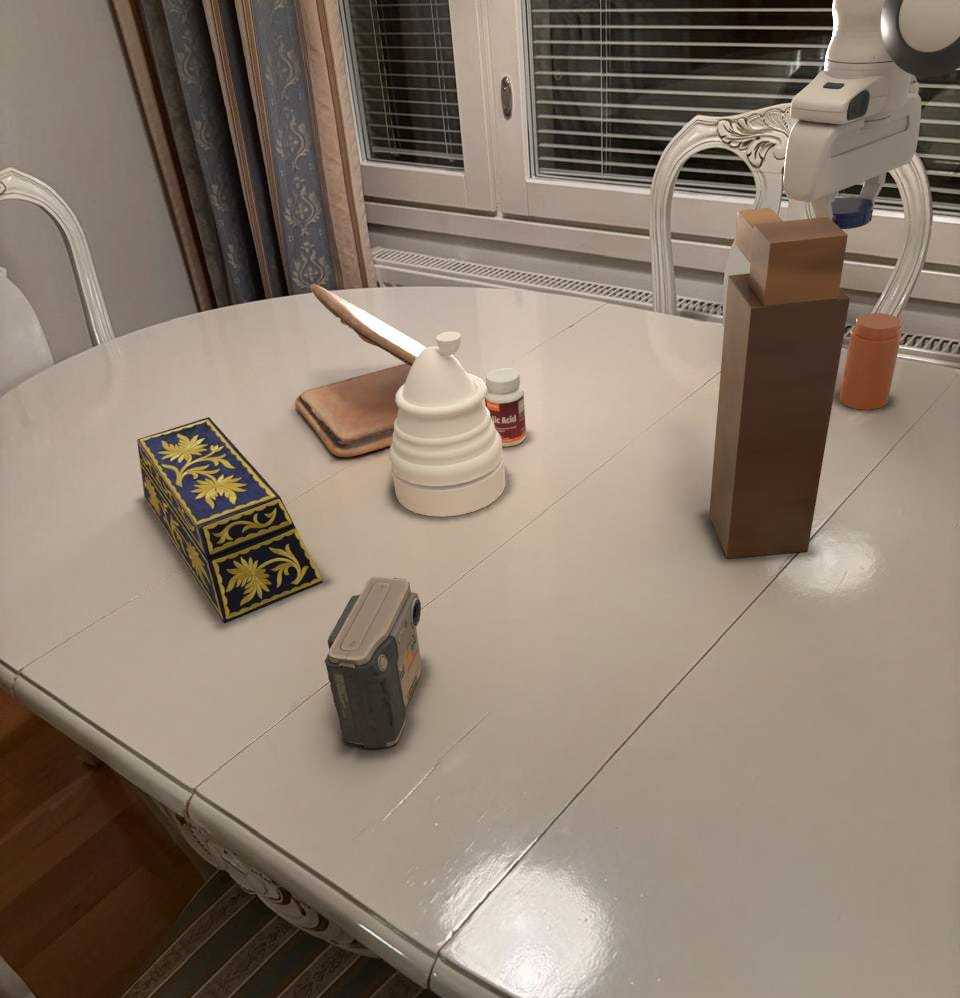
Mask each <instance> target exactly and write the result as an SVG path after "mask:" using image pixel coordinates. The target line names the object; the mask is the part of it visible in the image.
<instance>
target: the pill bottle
mask: <svg viewBox="0 0 960 998" xmlns="http://www.w3.org/2000/svg"><path fill="white" fill-rule="evenodd" d="M485 384H486V387H487V394H486V396H485V398H484V405H485V406H486V407H487V409H488V410H489V411H490V417H491V419H492V421H493V422H494V425H495V429H496V430H497V432H498V433H499V434H500V437H501V440H502V447H513V446H516V445H519V444H521V443H522V442H523V441H525V439H526V437H527V426H526V411H525V409H526V408H525V391H524V389H523V387H522V386H521V377H520V372H519V371H518V370H517V369H516V368H511V367H499V368H495V369H491V370H490V371H488V372H487V373H486V375H485Z"/></svg>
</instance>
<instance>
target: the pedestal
mask: <svg viewBox="0 0 960 998" xmlns="http://www.w3.org/2000/svg"><path fill="white" fill-rule="evenodd" d="M749 274H750V272H748V273H739V274H730V275H728V277H727V289H726V300H725V301H726V302H725V313H724V314H725V315H724V325H723V326H724V327H723V337H722V339H723V340H722V350H721V351H722V352H721V363H720V364H721V365H720V375H719V386H718V387H719V390H718V399H717V413H716V426H715V437H714V448H713V449H714V451H713V461H712V462H713V463H712V464H713V465H712V475H711V488H710V499H709V510H708V511H709V513H708V517H709V519H710V521H711V524H712V526H713V529H714V531H715V534H716V536H717V538H718V541H719V543H720V546H721V548H722V550H723V553H724V555H725V558H726V559H727V560H728V559H739V558H740V559H741V558H749V557H750V558H751V557H761V556H772V555H773V556H774V555H783V554H793V553H794V554H795V553H804V552H808V551H809V547H810V540H811V534H812V528H813V523H814V516H815V511H816V506H817V505H816V504H817V498H818V493H819V487H820V481H821V476H822V468H823V462H824V457H825V450H826V445H827V438H828V432H829V428H830V421H831V414H832V408H833V403H834V396H835V391H836V386H837V385H836V384H837V380H838V379H837V378H838V373H839V367H840V360H841V355H842V350H843V343H844V337H845V331H846V324H847V320H848V312H849V307H850V302H851V301H850V300H851V298H850V296H849V295H847V293H846V292H845V291H844V290H843V289H842V288H841V287H840V288H839V294H838V299H831V300H821V301H811V302H801V303H791V304H782V305H772V306H763V304H762V303H761V302H760V300H759V299H758V298H757V296H756V295H755V294H754V292H753V291H752V289H751V288H750V287H749Z"/></svg>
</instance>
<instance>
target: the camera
mask: <svg viewBox="0 0 960 998" xmlns="http://www.w3.org/2000/svg"><path fill="white" fill-rule="evenodd" d="M411 590H412V589H411V583H410V581H409V580H407V579H406V578H399V577H391V578H390V577H384V576H383V577H382V576H371V577H369V578H368V580H367V582H366V583H365V584H364V587H363V588H362V590H361V592H360V594H357V595H352V596H351V597H350V599H349V601H348V602H347V604H346V606H345V607H344V609H343V610H342V613H341V615H340V617H339V618H338V620H337V622H336V624H335V626H334V627H333V629H332V631H331V633H330V634H329V636H328V639H327V645H328V653H327V655H326V657H325V659H324V664H325V667H326V672H327V678H328V682H329V683H330V684H329V686H330V691H331V693H332V699H333V703H334V707H335V709H336V714H337V717H338V722H339V728H340V730H341V736H342V738H343V740H345V741H346V743H347V744H348V745H349V744H354V745H361V746H363V748H365V749H378V748H388V747H393V746H395V745H396V744H397V743H398V742H399V740H400V738H401V735H402V733H403V731H404V729H405V726H406V723H407V713H406V708H407V707H408V704H409V702H410V700H411V698H412V696H413V693H414V691H415V688H416V685H417V683H418V681H419V679H420V677H421V674H422V671H423V669H422V659H421V658H422V657H421V651H420V645H419V644H420V643H419V638H418V631H417V627H418V625H419V623H420V620H421V615H422V603H421V601H420V600H421V599H420V597H419V595H418V593H416V592H414V591H411Z"/></svg>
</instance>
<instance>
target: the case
mask: <svg viewBox="0 0 960 998" xmlns="http://www.w3.org/2000/svg"><path fill="white" fill-rule="evenodd" d="M309 289H310V291H311V292H312V294H313V296H314V297H315V298H316V300H318V302H319V303H320V304H322V305H323V307H325V309H326V310H328V311H329V312H330V314H332V315H333V316H334V317H336V318H338V319H339V320H340V321H339V322H340V324H342V325H344V326H347V327H348V328H349V329H351V330H353V332H355V333H356V334H357V336H358V337H359V338H360V339H361V340H362V341H363V342H364V343H367V344H370V345H372V346H375V347H378V348H379V349H381V350H383V351H385V352H387V353H388V354H389V355H392V356H393V357H394V358H395V359H397V360H400V361H401V362H402V363H401V364H397V365H395V366H392V367H388V368H383V369H380V370H375V371H371V372H369V373H365V374H361V375H357V376H353V377H350V378H346V379H343V380H339V381H335V382H331V383H328V384H325V385H320V386H317V387H314V388H310V389H306V390H304V391H303V392H301V394H300V395H298V396H297V397H296V399H295V402H294V403H295V407H296V409H297V410H298V411H299V413H300V414H301V415H302V416H303V417H304V419H305V420H306V421H307V422H308V424H309V425H310V426H311V427H312V429H313V430H314V432H315V433H316V434H317V435H318V437H319V438H320V439H321V441H322V442H323V444H324V445H325V447H326V448H327V450H328V451H329V452H330V453H331V454H332V455H334V456H335V457H339V458H352V457H357V456H360V455H364V454H367V453H370V452H371V453H372V452H373V451H377V450H381V449H384V448H387V447H390V446H391V444H392V443H393V432H394V421H395V419H396V418H397V415H398V410H399V407H398V406H397V404H396V402H395V398H396V393H397V391H398V390H399V388H400V387H401V386H403V385H404V384H405V382H406V379H407V376H408V374H409V371H410V369H411V367H412V365H413V363H414V361H415V360H416V358H417V357H418V355H419V354H420V353H421V352H422V351H423V350H425V349H426V348H427V347H426V346H425V345H423V344H422V343H420V342H419V341H417V340H415V339H413V338H412V337H410V336H408V335H406V334H404V333H403V332H401V331H399V330H398V329H396V328H394V327H393V326H391V325H390V324H387V323H385V322H384V321H382V320H380V319H379V318H377V317H375V316H373V315H372V314H370V313H369V312H367V311H365V310H363V309H361V308H360V307H358V306H356V305H354V304H353V303H351V302H350V301H348V300H346V299H344V298H342V297H341V296H339V295H337V294H336V293H333V292H331V290H328V289H326V288H324V287H323V286H321V285H319V284H316V283H312V284H310V286H309Z"/></svg>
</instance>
